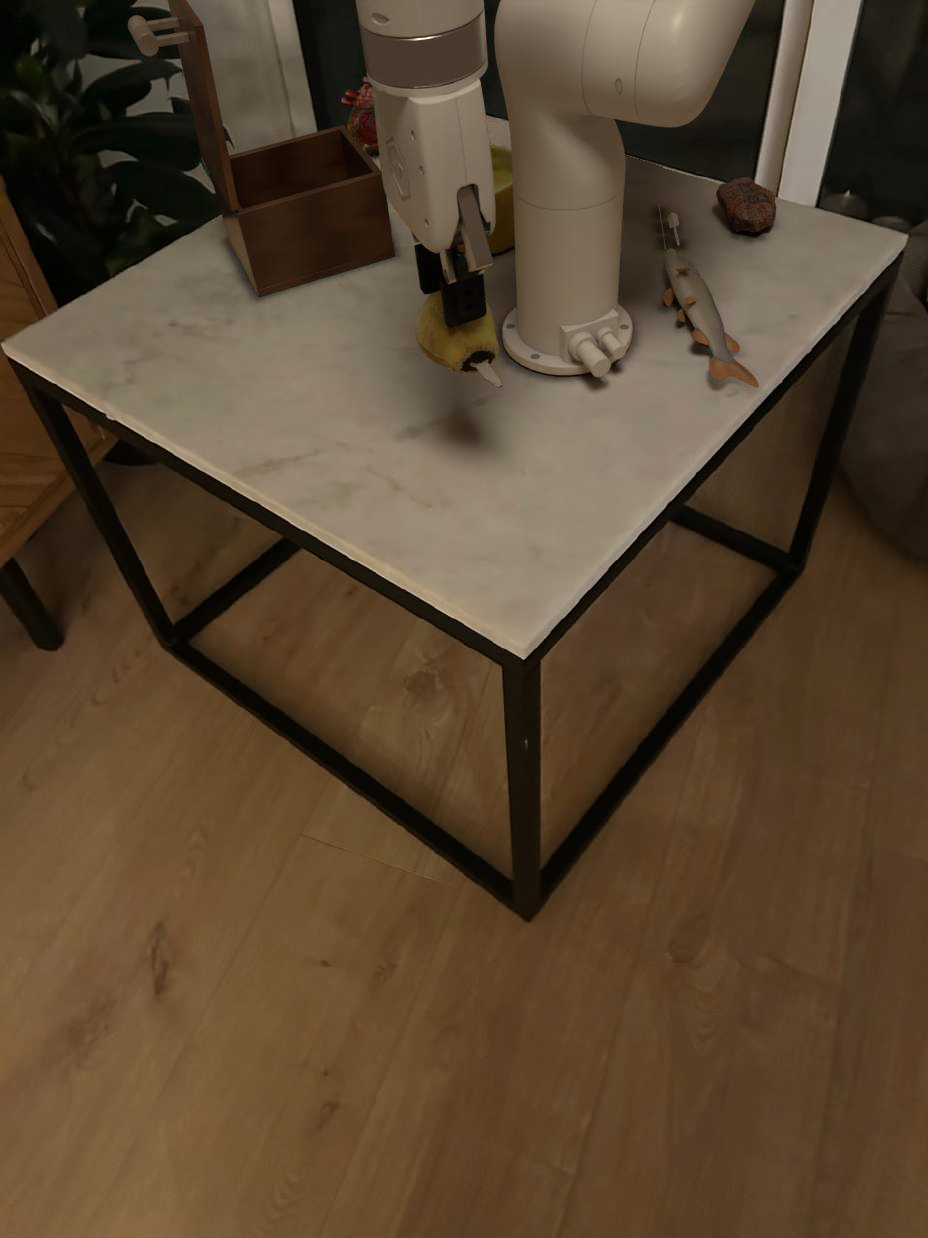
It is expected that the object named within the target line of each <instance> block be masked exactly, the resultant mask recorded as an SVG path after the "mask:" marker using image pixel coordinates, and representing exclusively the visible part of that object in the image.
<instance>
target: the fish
mask: <svg viewBox="0 0 928 1238" xmlns="http://www.w3.org/2000/svg"><path fill="white" fill-rule="evenodd" d="M664 263H665V264H664V266H665V271H666V273H667V275H668V280H669V282H670V285H671V287H670V288H668V289H667V290H666V291H665V292H663V294H662V295H663V297H662V298H663V302H664V304H665V306H666V307H667V308H669V307H670V306H672V303H673V301H674V299H675V298H676V299H677V301H678V303H679V305H680V307H681V308H680V309H679V310H678V312H677V319H678V321H679V322H681V323H683V322H686V316H687V317H688V319H689V320H690V322H691V324H692V326H693V327H694V330H692V332H691V337H692V339H693V340H694V341H695V342H697V343H699V344H703V345H705V346H708V347H709V349H710V351H711V353H712V357H711V358H710V359H709V363H708V368H709V371H710V373H711V375H712V376H713V378H714V379H715V380H717V381H724V380H726V379H728V378H729V377H731V378H735V379H736V380H739V381H741V382H742V383H745V384H747V385H750V386H751V387H755V388H759V387H760V385H759V382H758V380H757V378H756V377H755V375H753V374H752V372H751V371H750V370H749V369H748V368H746V367H745V366H744V365H742V364H741V363H740V362H739V361H737V360H736V359H735V358H734V356H733V355H732V354H731V353H735V354H736V353H739V352H740V350H741V347H740V345H739V342H737V341H736V340H735V339H734V338H733V337H731V336H730V335H729V334H728V333H727V332H726V331H725V326H724V322H723V319H722V317H721V314H720V312H719V310H718V307H717V305H716V302H715V300H714V298H713V295H712V293H711V291H710V288H709V286H708V285H707V283H706V282H705V280H704V279H703V277H702V276H701V274H700V272H699V270H698V269H697V268H696V267H695V265H694V264H693V263H692V262H691V261H690V260H688V259H686V258H685V257H684V256H683V255H682V254H681V253H679V252H678V251H677V250H676V249H674V248H670V249H668V250H667V252H666V255H665V259H664ZM685 315H686V316H685Z"/></svg>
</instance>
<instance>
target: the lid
mask: <svg viewBox="0 0 928 1238" xmlns="http://www.w3.org/2000/svg"><path fill="white" fill-rule="evenodd" d="M167 4H168V9H169V13H170V17H165V18H160V19H154V20H153V19H152V20H146V19H145V18H144V17H143V16H141V15H137V14H136V15H132V16H131V17H130V18H129V20H128V22H127V29H128V32H129V33H130V35H131V37H132V39H133V40H134V42H135V45H137V48H138V49H139V52H140V53H141V54H142V55H144V56H145V57H153V56H155V55H156V54H157V53H158V52H159V50H160V48H163V47H167V46H173V45H175V46H176V45H177V49H178V55H179V60H180V64H181V68H182V72H183V77H184V82H185V86H186V87H185V88H186V91H187V95H188V100H189V104H190V109H191V114H192V119H193V123H194V128H195V132H196V137H197V142H198V146H199V151H200V156H201V159H202V161H203V163H204V164H205V166H206V167H207V170H208V171H209V174H210V173H211V174H210V176H211V175H212V176H213V178H214V180H215V182H216V184H217V185H218V187H219V189H220V191H221V193H222V194H223V196H224V198H225V200H226V202H227V203H228V205H229V207H230V209H231V210H232V211H233V210H238V209H239V205H238V200H237V195H236V190H235V184H234V179H233V174H232V169H231V164H230V159H229V155H230V154H229V150H228V149H229V148H228V143H227V139H226V134H225V129H224V123H223V118H222V114H221V113H222V112H221V109H220V104H219V98H218V93H217V89H216V88H217V87H216V84H215V83H216V82H215V77H214V73H213V69H212V67H213V66H212V63H211V58H210V51H209V47H208V42H207V38H206V32H205V27H204V24H203V22H202V21H201V19H200V17H199V16H198V15H197V14H196V12H195V11H194V9H193V7H192V6H191V5H190V3H189V2H188V0H167ZM170 29H173V32H174V33H169V34H168V33H167V34H162V35H157V36H156V35H155V33H154V32H159V31H165V30H170Z"/></svg>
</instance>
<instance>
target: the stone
mask: <svg viewBox="0 0 928 1238" xmlns="http://www.w3.org/2000/svg"><path fill="white" fill-rule="evenodd" d="M715 192H716V194H715V195H716V199H717V202H718V204H719V207H721V208H722V210H723V213H724V215H725V216H726V217H728V222H729V223H730V224H731V225H732V227H733V229H734V230H735V232H736V233H737V232H741V231H747V232H750V233H759V232H760V231H762V230H763V229H765V228H769V227H772V226H773V225H774V222H775V221H776V215H777V205H776V196H775V193H774V192H773V191H772V190H770V189H767V188H766V187H763V186H762V185H760V184H757V183H756V182H755V181H754V179H752V178H751V177H750V176H743V177H737V178H733V180H731V181H729V182H723V183H721V184H720V185H718V188H717V189H716V191H715Z"/></svg>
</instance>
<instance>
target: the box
mask: <svg viewBox="0 0 928 1238" xmlns="http://www.w3.org/2000/svg"><path fill="white" fill-rule="evenodd" d="M345 125H346V124H341V125H338V126H333V127H330V128H327V129H323V130H319V131H315V132H312V133H308V134H305V135H301V136H295V137H293V138H289V139H286V140H282V141H279V142H274V143H271V144H267V145H263V146H259V147H255V148H252V149H248V150H244V151H241V152H237V153H233V154H229V159H230V164H231V169H232V174H233V179H234V184H235V190H236V195H237V200H238V205H239V209H238V210H233V211H232V210H231V209H230V207H229V205H228V203H227V202H226V200H225V198H224V196H223V194H222V193H221V191H220V189H219V187H218V185H217V184H216V182H215V180H214V178H213V176H212V175H211V173H210V172H209V174H210V177H211V181H212V185H213V188H214V192H215V195H216V199H217V203H218V207H219V209H220V213H221V216H222V220H223V223H224V227H225V230H226V234H227V238H228V241H229V243H230V245H231V247H232V249H233V251H234V253H235V255H236V256H237V258H238V260H239V262H240V264H241V266H242V268H243V270H244V271H245V274H246V276H247V277H248V279H249V281H250V282H251V285H252V286H253V288H254V290H255V292H256V294H257V296H258V298H259V297H263V296H267V295H270V294H273V293H276V292H279V291H283V290H287V289H289V288H293V287H296V286H300V285H303V284H307V283H310V282H313V281H317V280H320V279H324V278H327V277H330V276H333V275H337V274H340V273H343V272H347V271H350V270H353V269H357V268H361V267H363V266H366V265H370V264H374V263H377V262H380V261H383V260H387V259H391V258H394V257H395V256H396V254H395V246H394V239H393V232H392V231H393V230H392V224H391V220H390V218H391V217H390V210H389V204H388V198H387V196H386V194H385V191H384V187H383V180H382V172H381V168H380V167H379V166H378V165H377V164H376V163H375V161H374V160H373V159H372V157H371V156H370V155H369V153H368V152H367V151H366V150H365V148H363V147H362V146H361V145H360V144H359V143H358V142H357V140H356V139H355V138H356V137H355V136H354V134H353V135H352V134H351V133H350V132H349V130H348V129H347V128H346V127H345Z"/></svg>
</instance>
